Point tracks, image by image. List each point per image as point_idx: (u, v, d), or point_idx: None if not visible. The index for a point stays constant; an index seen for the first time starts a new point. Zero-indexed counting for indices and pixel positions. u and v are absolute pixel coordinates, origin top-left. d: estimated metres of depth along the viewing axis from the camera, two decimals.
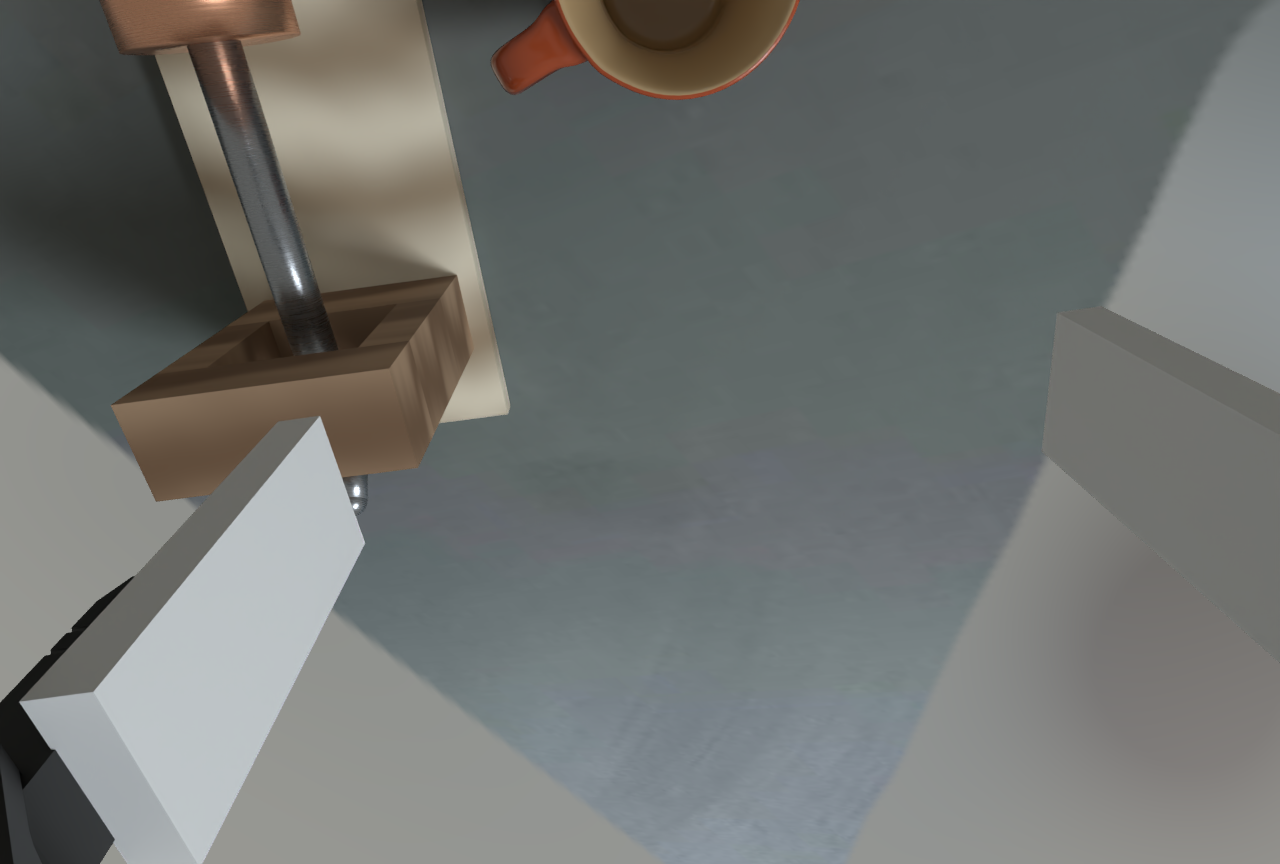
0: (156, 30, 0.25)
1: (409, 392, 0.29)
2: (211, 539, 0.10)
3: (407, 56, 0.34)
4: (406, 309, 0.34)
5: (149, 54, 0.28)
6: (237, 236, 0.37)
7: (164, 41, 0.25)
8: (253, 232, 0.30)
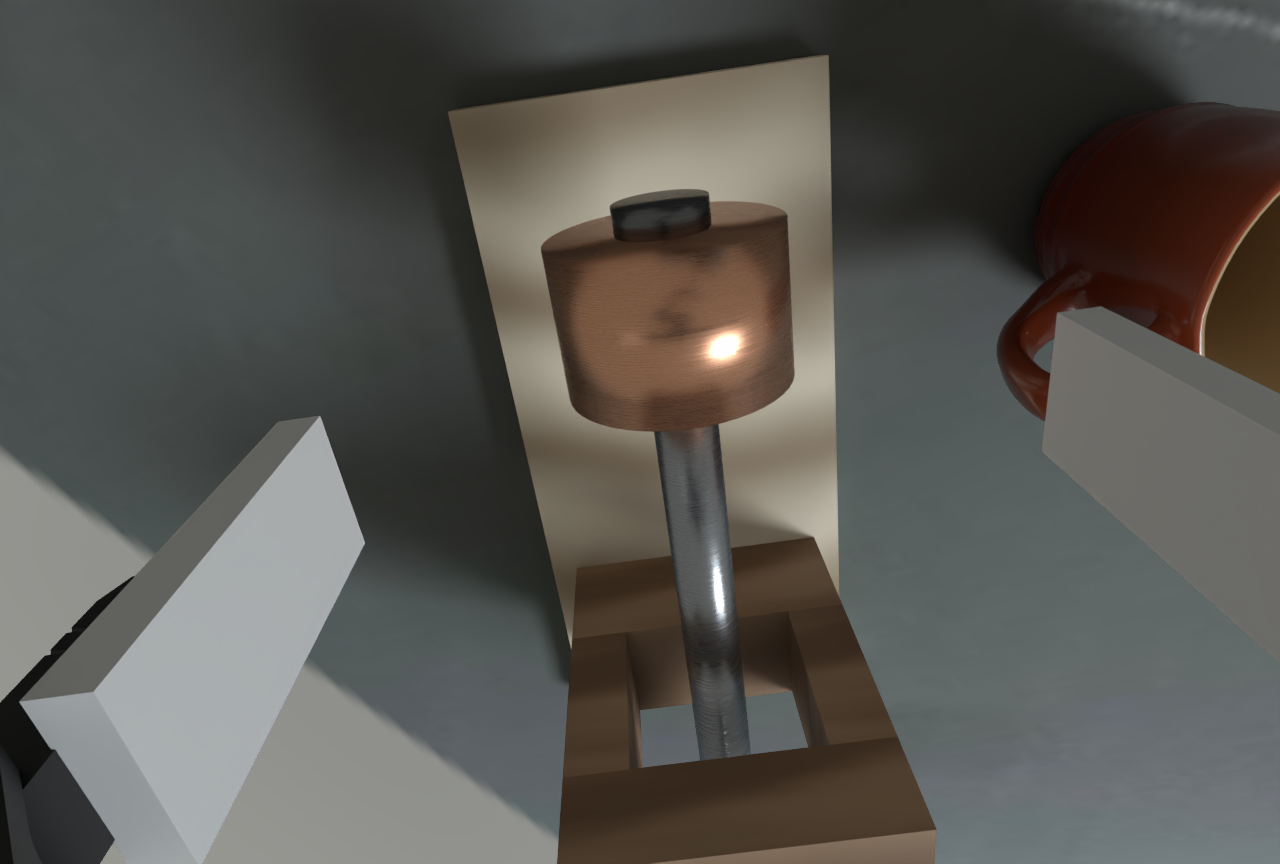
0: (674, 417, 0.17)
1: None
2: (211, 539, 0.10)
3: (807, 305, 0.27)
4: (816, 632, 0.27)
5: None
6: (557, 502, 0.30)
7: (681, 428, 0.18)
8: (687, 592, 0.23)
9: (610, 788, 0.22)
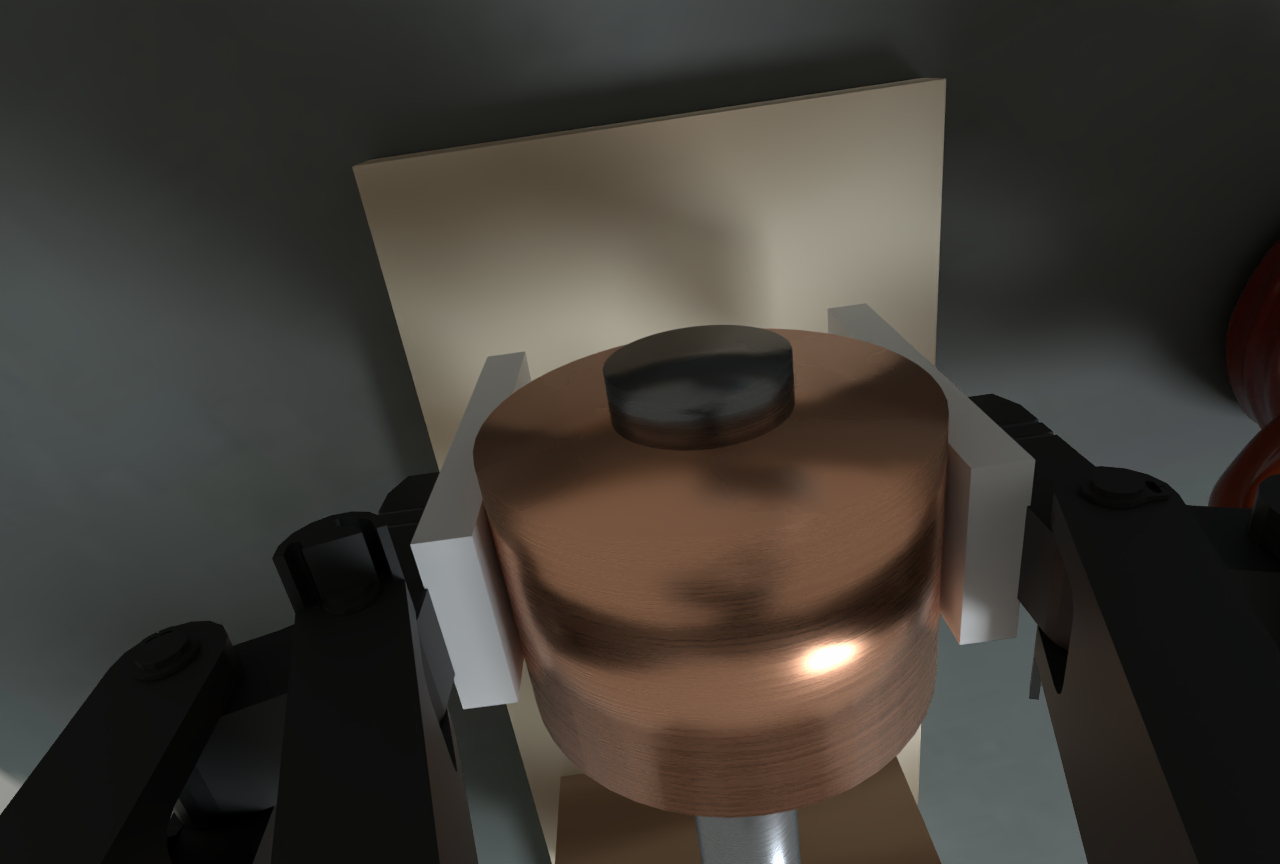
0: (730, 796, 0.09)
1: None
2: None
3: None
4: None
5: None
6: (533, 697, 0.22)
7: (742, 813, 0.09)
8: None
9: None
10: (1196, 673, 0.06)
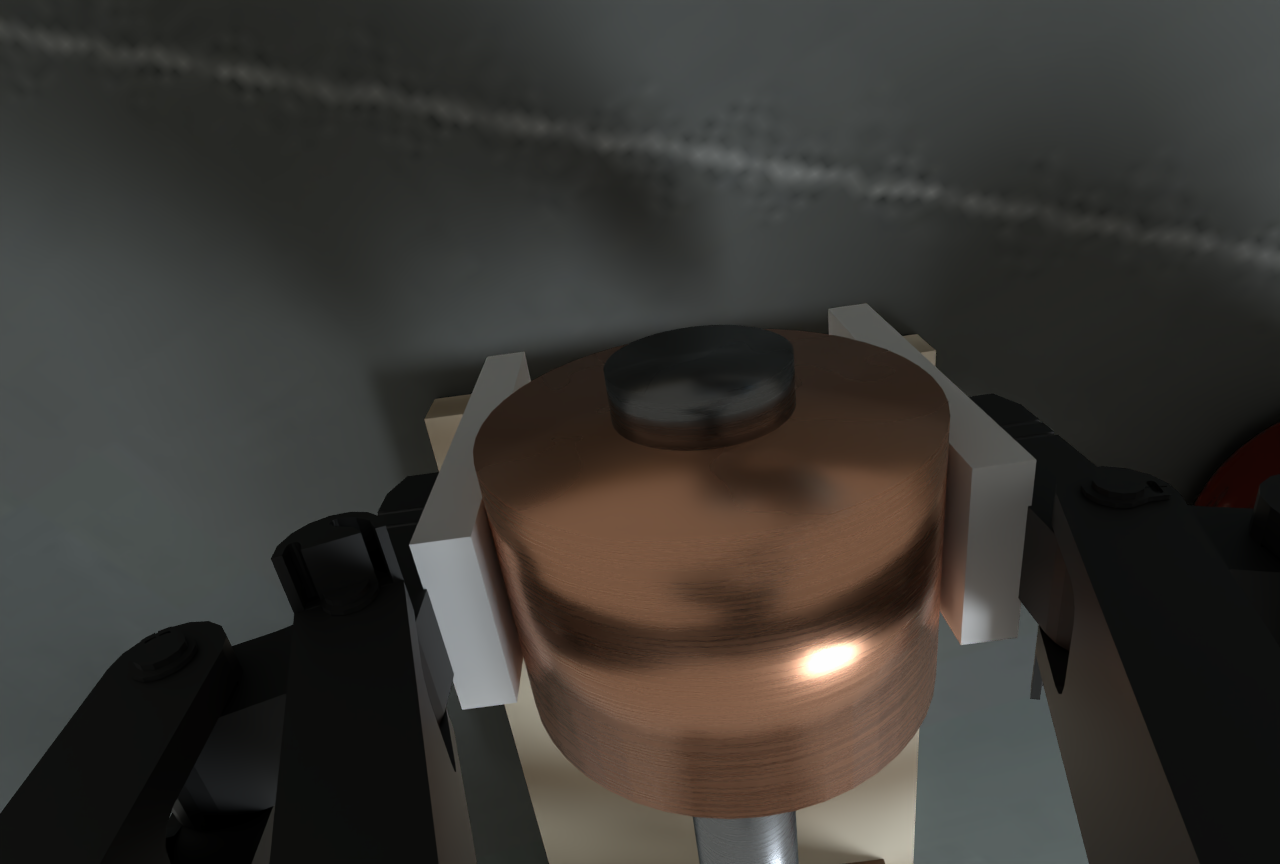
0: (729, 797, 0.09)
1: None
2: None
3: None
4: None
5: None
6: (565, 829, 0.24)
7: (741, 814, 0.09)
8: None
9: None
10: (1197, 673, 0.06)
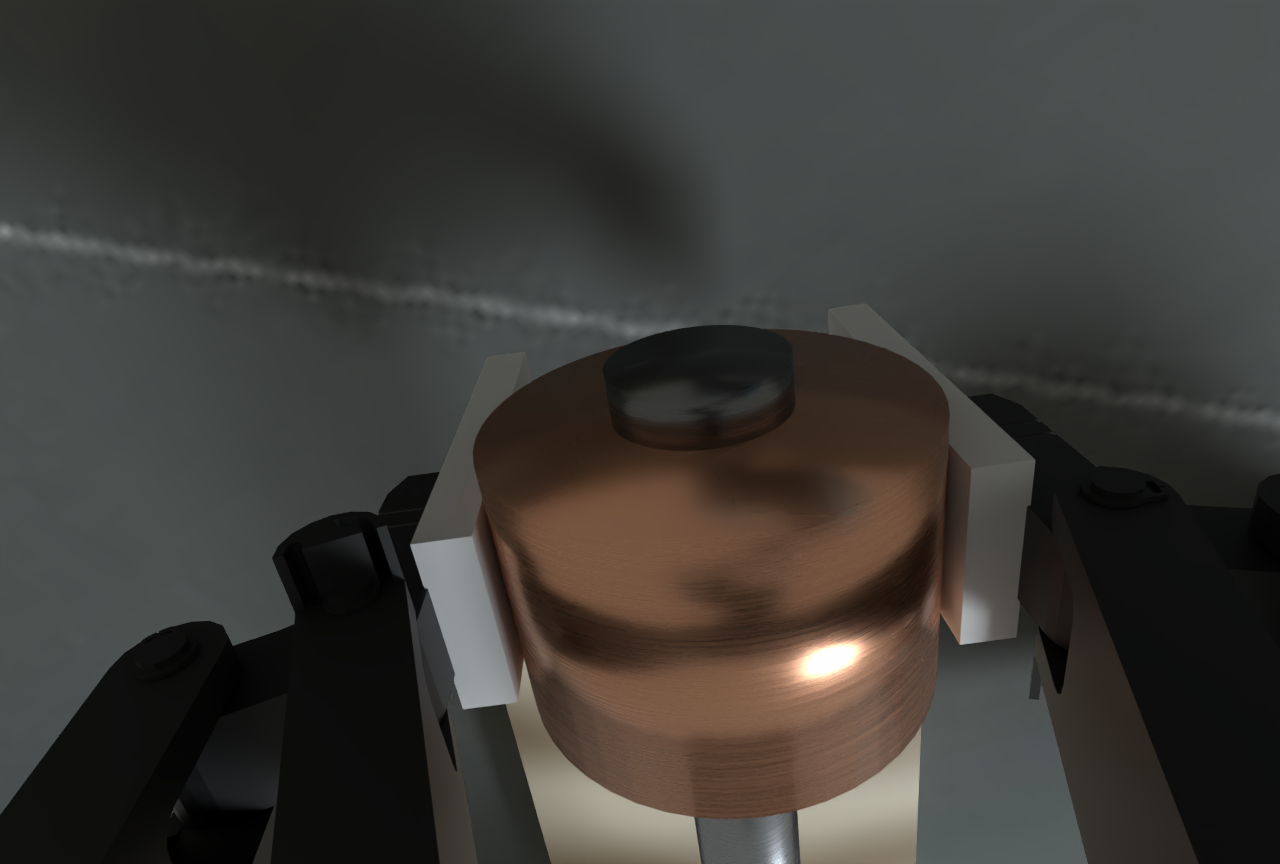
0: (730, 798, 0.09)
1: None
2: None
3: None
4: None
5: None
6: None
7: (743, 814, 0.09)
8: None
9: None
10: (1196, 673, 0.06)
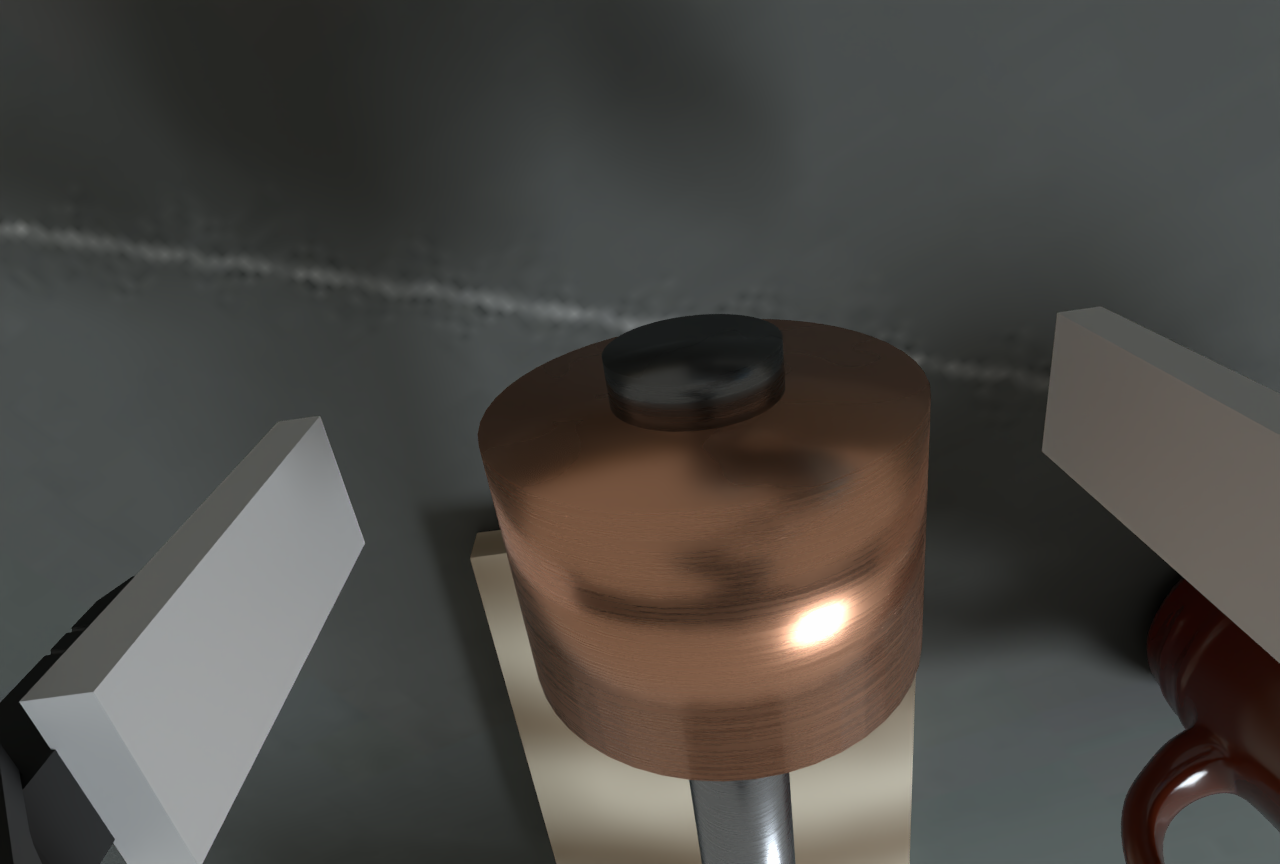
0: (723, 760, 0.09)
1: None
2: (211, 539, 0.10)
3: None
4: None
5: None
6: None
7: (735, 777, 0.09)
8: None
9: None
10: None
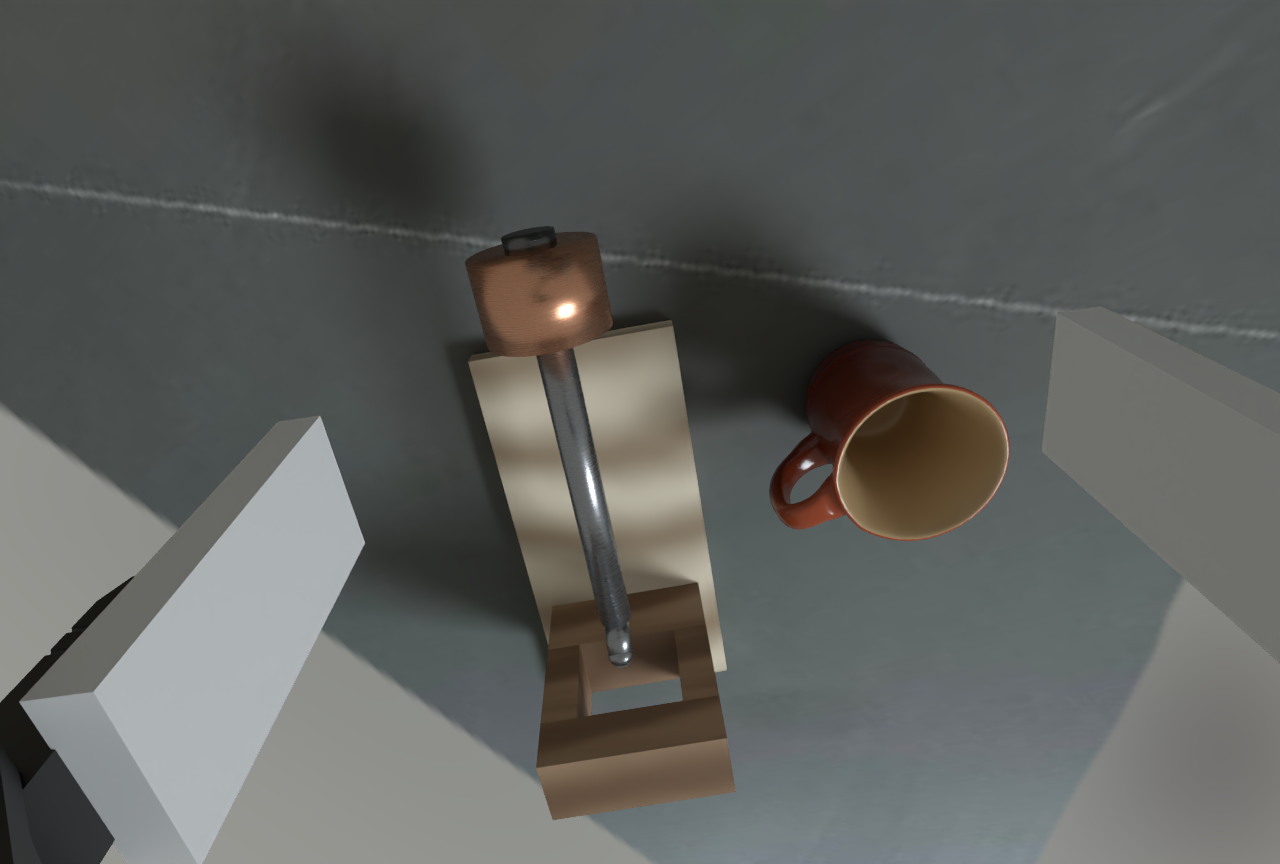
0: (536, 347, 0.33)
1: None
2: (211, 539, 0.10)
3: (677, 451, 0.47)
4: (687, 641, 0.46)
5: None
6: (538, 567, 0.50)
7: (540, 354, 0.33)
8: (567, 463, 0.38)
9: (565, 727, 0.41)
10: None
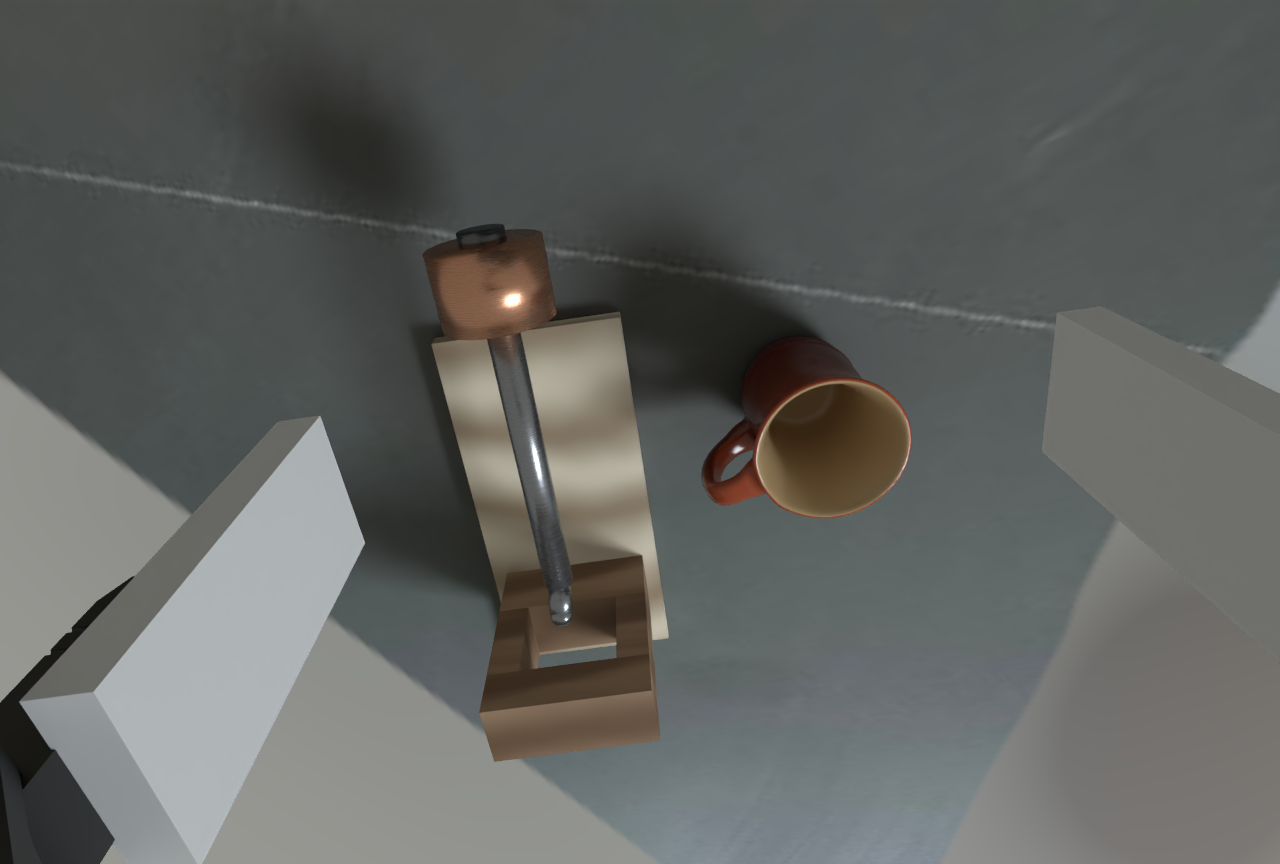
0: (483, 332, 0.37)
1: (653, 691, 0.45)
2: (211, 539, 0.10)
3: (623, 432, 0.51)
4: (626, 606, 0.50)
5: None
6: (494, 536, 0.54)
7: (487, 338, 0.37)
8: (514, 438, 0.42)
9: (508, 678, 0.46)
10: None
